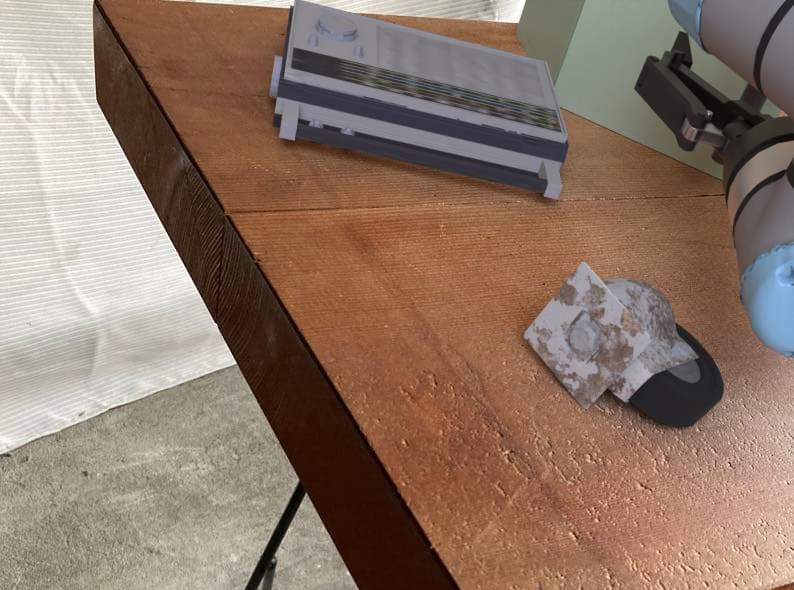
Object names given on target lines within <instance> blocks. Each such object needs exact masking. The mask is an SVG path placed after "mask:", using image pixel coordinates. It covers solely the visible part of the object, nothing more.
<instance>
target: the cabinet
mask: <svg viewBox="0 0 794 590" xmlns="http://www.w3.org/2000/svg"><path fill="white" fill-rule="evenodd" d="M584 3H585V0H525V2H524V5H523V7H522V11H521V13H520V17H519V21H518V24H517V27H516V29H515V36H516V37H517V39H518V42H519V43H520V45H521V47H522V49H523V51H524V53H525V56H527V57H531V58H535V59H539V60H543V61H547V64H548V68H549V71H550V75H551V78H552V81H553V85H554V86H555V84H556V81H557V78H558V75H559V72H560V70H561V67H562V64H563V61H564V59H565V56H566V53H567V50H568V47H569V45H570V42H571V39H572V36H573V34H574V31H575V28H576V25H577V22H578V20H579V17H580V14H581V11H582V9H583V6H584Z"/></svg>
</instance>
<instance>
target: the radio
mask: <svg viewBox="0 0 794 590" xmlns="http://www.w3.org/2000/svg"><path fill="white" fill-rule="evenodd" d="M269 87H270V88H269V94H268V98H269V99H273V100H275V107H274V114H273V121H272V127H275V128H279V135H278V137H279V138H280V139H285V140H291V141H294V142H295V141H296V139H299V140H305V141H308V142H314V143H317V144H322V145H326V146H331V147H335V148H340V149H344V150H349V151H353V152H358V153H362V154H367V155H371V156H375V157H380V158H384V159H388V160H393V161H398V162H402V163H405V164H406V163H407V164H411V165H416V166H420V167H425V168H429V169H433V170H437V171H442V172H446V173H452V174H456V175H460V176H464V177H469V178H474V179H478V180H483V181H486V182H487V181H488V182H492V183H497V184H499V185H504V186H510V187H514V188H518V189H523V190H528V191H531V192H537V193H540V194H542V196H543V197H544V198H550V199H554V200H558V199H559V197H560V195H561V192H562V189H563V187H564V186H563V182H562V178H561V171H562V169H563V167H564V164H565V160H566V156H567V154H568V150H569V147H570V144H569V141H568V138H569V133H568V129H567V126H566V124H565V119H564V116H563V113H562V108H561V107H560V105H559V102H558V98H557V95H556V92H555V88H554V85H553V81H552V78H551V75H550V71H549V68H548V64H547V61H543V60H539V59H535V58H531V57H527V55H522V54H518V53H514V52H512V51H511V52H510V51H506V50H503V49H499V48H494V47H490V46H487V45H482V44H479V43H474V42H470V41H467V40H462V39H459V38H455V37H450V36H448V35H447V36H446V35H442V34H439V33H435V32H431V31H426V30H423V29H419V28H415V27H411V26H406V25H403V24H398V23H395V22H390V21H387V20H383V19H378V18H375V17H370V16H367V15H363V14H358V13H355V12H351V11H346V10H343V9H338V8H335V7H331V6H326V5H322V4H320V3H316V2H315V3H314V2H310V1H306V0H294V1H293V5H290V6H289V13H288V19H287V25H286V32H285V38H284V44H283V51H282V56H281V55H276V54H275V55H274V61H273V67H272V74H271V81H270V86H269Z"/></svg>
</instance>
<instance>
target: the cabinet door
mask: <svg viewBox="0 0 794 590" xmlns="http://www.w3.org/2000/svg"><path fill="white" fill-rule="evenodd" d="M679 31H682V32H685V33H687V32H686V31H685V30H684V29H683V28H682V27H681V26H680V25H679V24H678V23H677V21H676V20H675V19H674V17H673V16H672V14H671V11H670V8H669V5H668V0H585V3H584V6H583V9H582V11H581V14H580V17H579V20H578V22H577V25H576V28H575V31H574V34H573V36H572V39H571V42H570V45H569V47H568V50H567V53H566V56H565V59H564V61H563V64H562V67H561V70H560V72H559V75H558V78H557V81H556V84H555V86H554V88H555V92H556V95H557V98H558V102H559V105H560V109H563V110H566V111H568V112H570V113H572V114H574V115H576V116H579V117H581V118H582V119H585V120H587V121H589V122H592V123H594V124H597V125H598V126H601V127H603V128H605V129H607V130H610V131H611V132H614V133H616V134H618V135H621V136H623V137H625V138H628V139H629V140H631V141H634V142H636V143H638V144H640V145H642V146H645V147H647V148H650V149H651V150H654V151H656V152H658V153H660V154H663V155H665V156H667V157H669V158H671V159H674V160H676V161H678V162H680V163H682V164H685V165H687V166H689V167H692V168H694V169H696V170H698V171H700V172H702V173H705V174H707V175H709V176H711V177H713V178H715V179H718V180H720V181H722V182H723V163H724V160H723V159H722V158H721V157H720V156H719V155H718V154H717V152H716V150H715V148H714V147H713V146H711V145H707V144H703V143H700V142H699V144H698V145H697V146H696V147H695V149H694V151H692V152H688V151H684V150H683V149H681V148H680V147H679V146H678V143H677V140H676V137H675V134H674V133H673V132H672V131H671V130H670V129H669V128H668V127H667V125H666V124H665V123H664V122H663V121H662V120H661V119H660V118H659V116H658V115H657V114H656V113H655V112H654V111H653V110H652V109H651V107H650V106H649V105H648V104H647V103H646V102H645V101H644V100H643V98H642V97H641V96H640V95H639V94H638V93H637V92H636V91H635V89H634V87H635V85H636V82H637V80H638V77H639V75H640V72H641V70H642V68H643V65H644V63H645V61H646V58H647V56H650V55H651V56H656V57H658V58H659V59H660V60H661V59H662V56H663V54H664V52H665V51H670V52H671V49H672V47H673V45H674V42H675V40H676V38H677V35H678V33H679ZM688 35H689V34H688ZM689 42H690V48H691V54H692V60H693V64H692V66H691V68H690V70H692V71H693V72H694V73H696V74H697V75H698V76H700V77H701V78H702V79H704V80H705V81H706V82H708V83H709V84H710V85H712V86H713V87H714V88H716V89H717V90H718V91H720V92H721V93H722V94H724V95H725V96H726V97H728V98H729V99H730V100H744V101H745V102H747V103H748V104H749V105H751V106H752V107H753V108H755V109H756V110H757V111H759V112H760V113H762V114H769V115H771V116H772V117H773V118H777V117H780V114H781V112H782V110H781V109H780V108H778V107H777V106H776V105H775V104H773V103H772V102H771V101H770V100H769V99H768V98H767V97H765V96H764V95H763V94H762V93H761V92H759V91H758V90H757V89H755V88H754V87H753V86H752V85H750V84H749V83H748V82H747V81H745V80H744V79H743V78H741V77H740V76H739V75H738V74H736V73H735V72H734V71H732V70H731V69H730V68H729V67H727V66H726V65H725V64H724V63H722V62H721V61H720V60H718V59H717V58H716V57H715V56H713V55H711V54H707V53H706V52H705V51H703V50H702V49H701V48H700V46H699V45H698V43H697V42H696V41H695V40H694V39H693V38H692V37H691V36H690V35H689ZM742 119H744V118H743V117H742V116H739V118H738V120H737V121H739V120H742Z"/></svg>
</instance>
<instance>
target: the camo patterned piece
mask: <svg viewBox="0 0 794 590" xmlns="http://www.w3.org/2000/svg"><path fill="white" fill-rule="evenodd" d="M523 338H524V339H525V341H526V342H527V343H528V344H529V346H530V347H531V348H532V349H533V351H534V352H535V353H536V354H537V355H538V356H539V358H540V359H541V360H542V361H543V362H544V363H545V365H546V366H547V367H548V368H549V369H550V371H551V372H552V374H554V376H555V377H556V378H557V379H558V380H559V381H560V383H561V384H562V385H563V387H564V388H565V389H566V390H567V391H568V393H570V395H571V396H572V397H573V398H574V400H575V401H576V402H577V404H578V405H579V406H580V407H581V409H584V410H588V409H589V408H590V407H591V406H592V405H593V404H594V403H595V402H596V401H597V400H598V398H599V397H601V395H602V394H603V393H605V391H606V390H607V389H608V390H609V391H610V392H611V393H612V394H613V395H614V396H616V397H617V398H619V399H620V401H622V402H624V403H625V404H628V403H631V404H632V405H633V406H634V407H636V409H638V410H639V411H641V412H642V413H644V414H645V415H647V417H650V418H651V419H653V420H655V422H658V423H661V424H664V425H666V426H669V427H673V428H682V429H683V428H691V427H692V426H695V425H696V424H697V423H698V422H699V421H700V420H701V419H703V417H705V416H706V415H707V414H708V413H709V412H710V411H711V410H712V409H714V408H715V406H716V405H718V403H720V401H721V400H722V399H723V396H724V393H725V383H724V380H723V377H722V373H721V371H720V369H719V367H718V365H717V363H716V362H715V360H714V358H713V357H712V355H711V354H710V353H709V351H708V350H707V349H706V347H704V346H703V344H702V343H701V342H700V341H699V340H698V339H697V338H696V337H695V336H693V334H691V333H690V332H689V331H688V330H687V329H686V328H684V327H683V326H682V325H681V324H679V323H677V322H676V318H675V312H674V309H673V307H672V304H671V302H670V300H669V298H668V297H667V296H666V295H665V293H663V292H662V291H661V290H660V289H658V288H657V287H655V286H653V285H652V284H650V283H647V282H645V281H642V280H638V279H635V278H634V279H633V278H627V277H626V278H624V277H615V278H614V277H613V278H604V279H601V278H600V276H599V275H597V273H596V272H595V271H594V270H593V268H592V267H590V265H589V264H588V263H587V262H584V261H581V262H580V263H579V265H578V266H577V267H576V269H575V270H574V271H573V272H572V273H571V275H570V276H569V277H568V278H567V280H565V282H564V283H563V284H562V286H560V288H559V289H558V290H557V292H556V293H555V294H554V295H553V297H552V298H551V299H550V300H549V302H548V303H546V305H545V306H544V308H543V309H542V310H541V311H540V313H539V314H538V315H537V316H536V317H535V319H534V320H533V321H532V322H531V323H530V325H529V326H528V327H527V328H526V330H525V331H524V334H523Z"/></svg>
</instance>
